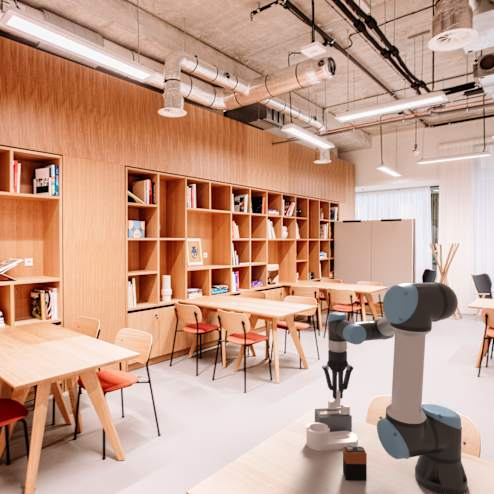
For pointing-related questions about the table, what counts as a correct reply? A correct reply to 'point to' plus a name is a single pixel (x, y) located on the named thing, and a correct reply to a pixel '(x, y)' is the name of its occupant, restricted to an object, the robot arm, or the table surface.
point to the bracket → (328, 437)
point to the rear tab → (332, 404)
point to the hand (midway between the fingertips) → (337, 405)
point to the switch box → (334, 419)
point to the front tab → (345, 409)
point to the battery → (354, 463)
